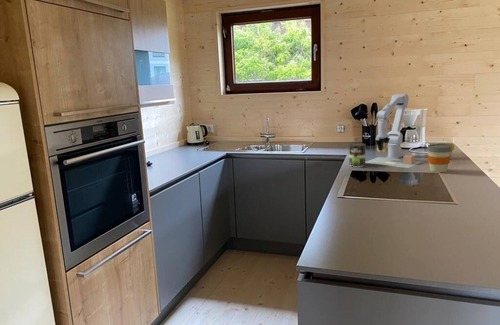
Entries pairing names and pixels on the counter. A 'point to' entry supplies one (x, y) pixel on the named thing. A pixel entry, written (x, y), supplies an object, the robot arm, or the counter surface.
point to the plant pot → (450, 145)
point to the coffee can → (357, 154)
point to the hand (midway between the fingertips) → (382, 149)
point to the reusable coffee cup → (439, 157)
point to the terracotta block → (408, 159)
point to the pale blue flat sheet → (391, 162)
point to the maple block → (385, 147)
